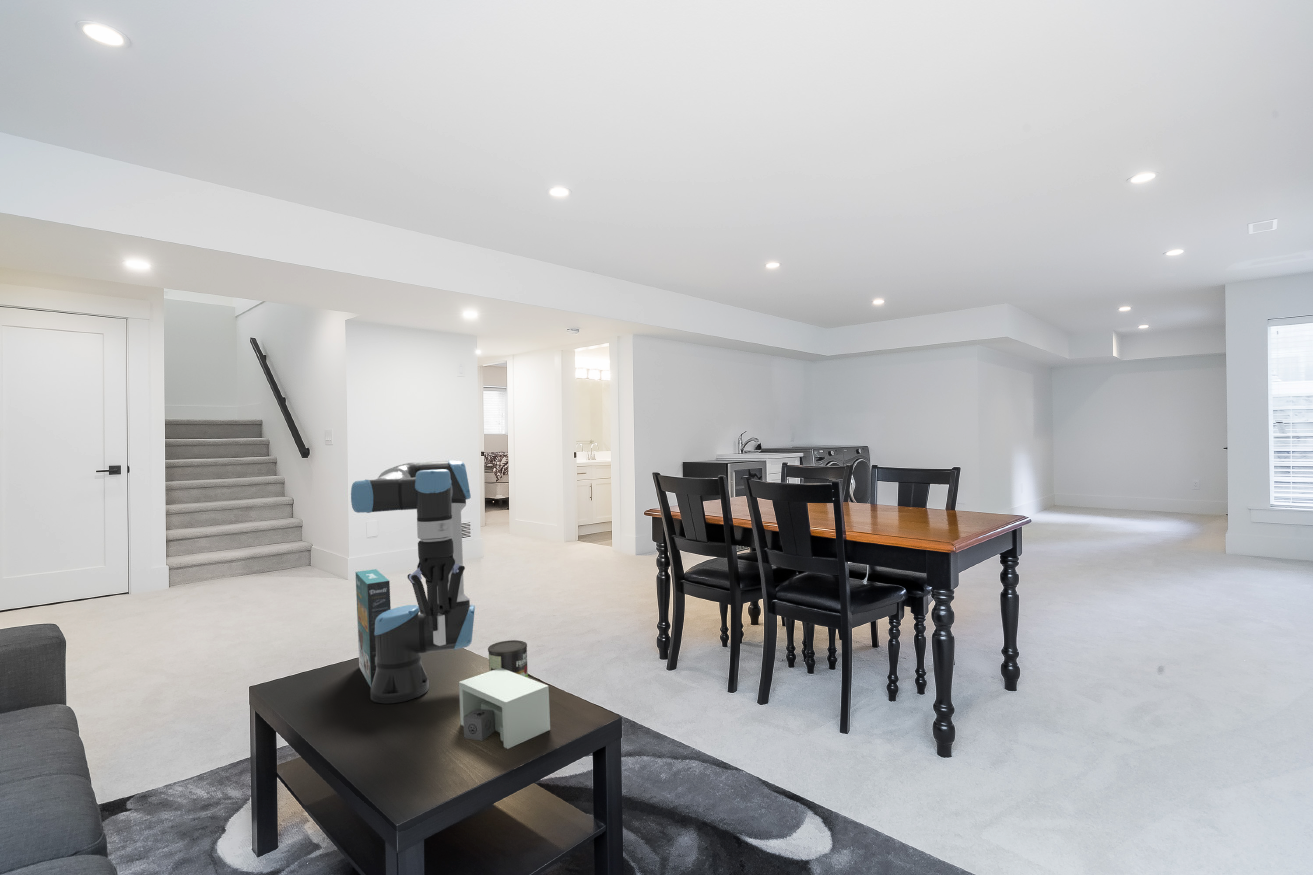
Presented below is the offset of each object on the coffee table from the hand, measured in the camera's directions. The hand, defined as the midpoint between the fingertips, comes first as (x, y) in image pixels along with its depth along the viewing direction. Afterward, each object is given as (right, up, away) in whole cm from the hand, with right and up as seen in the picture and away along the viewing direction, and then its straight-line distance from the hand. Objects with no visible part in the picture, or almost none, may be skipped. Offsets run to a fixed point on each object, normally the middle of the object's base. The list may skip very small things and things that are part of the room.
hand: (439, 643), depth 145 cm
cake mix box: (-36, -26, +51) cm, 68 cm away
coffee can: (+9, -24, +29) cm, 39 cm away
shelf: (+12, -24, +12) cm, 29 cm away
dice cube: (+7, -24, +8) cm, 27 cm away
